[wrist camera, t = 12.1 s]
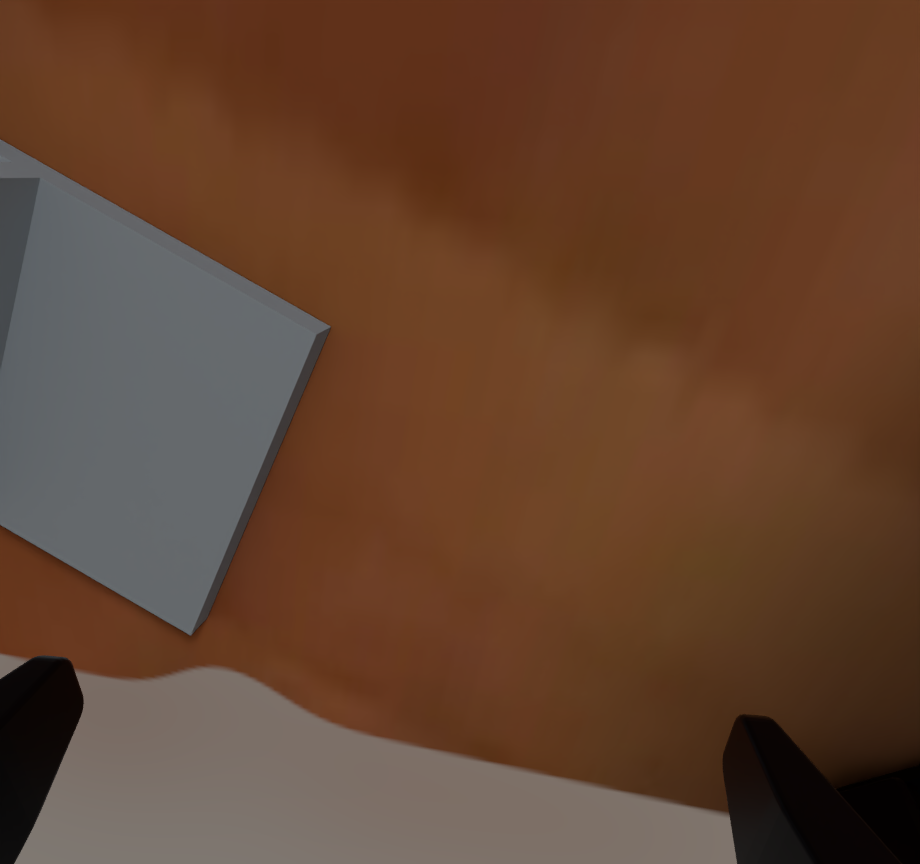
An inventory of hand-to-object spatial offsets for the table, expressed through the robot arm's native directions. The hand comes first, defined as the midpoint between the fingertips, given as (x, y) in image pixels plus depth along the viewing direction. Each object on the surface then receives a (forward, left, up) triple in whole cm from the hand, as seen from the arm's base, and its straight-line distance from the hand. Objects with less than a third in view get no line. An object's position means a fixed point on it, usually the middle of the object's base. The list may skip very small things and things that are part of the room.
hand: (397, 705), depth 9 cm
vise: (+10, +12, -11) cm, 20 cm away
